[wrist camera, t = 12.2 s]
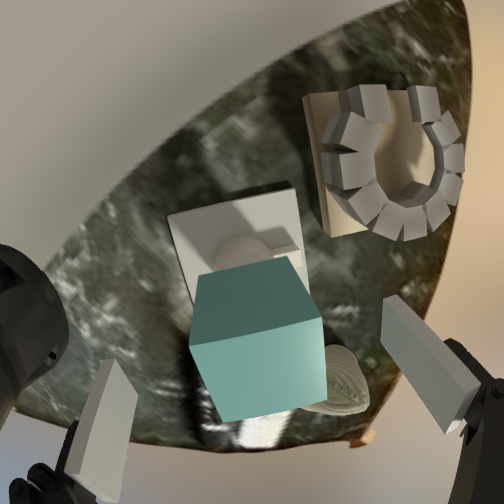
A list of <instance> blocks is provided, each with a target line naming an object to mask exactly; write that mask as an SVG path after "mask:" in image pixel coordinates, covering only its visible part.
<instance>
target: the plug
mask: <svg viewBox="0 0 504 504" xmlns="http://www.w3.org/2000/svg"><path fill="white" fill-rule="evenodd" d="M301 266H302V259H301V252H300V249H299V247H298V246H297V245H296V244H292V245H288V246H283V247H279V248H274V249H270V248H269V247H268V245H267V244H266V243H265V242H264V241H263V240H261V239H260V238H258V237H256V236H253V235H248V234H241V235H236V236H233V237H230V238H228V239H227V240H225V241H224V242H223V243H222V244H221V245H220V246H219V247H218V249H217V251H216V253H215V256H214V265H213V272H211V273H207V274H202V275H198V281H197V288H196V295H195V302H194V309H193V316H192V324H191V332H190V340H189V348H190V351H191V353H192V355H193V358H194V360H195V362H196V365H197V367H198V369H199V372H200V374H201V376H202V378H203V381H204V383H205V385H206V387H207V389H208V391H209V394H210V396H211V398H212V400H213V402H214V404H215V406H216V408H217V410H218V413H219V415H220V417H221V419H222V421H223V423H224V422H231V421H237V420H243V419H248V418H254V417H259V416H264V415H269V414H273V413H278V412H282V411H287V410H291V409H295V408H299V407H303V406H307V405H310V404H314V403H318V402H321V401H325V400H327V380H326V364H325V349H324V336H323V324H322V316H321V314H320V313H319V311H318V309H317V307H316V305H315V304H314V302H313V300H312V298H311V297H310V295H309V293H308V291H307V290H306V288H305V286H304V284H303V283H302V281H301V279H300V277H299V276H298V274H297V272H296V270H295V269H294V268H297V267H301Z"/></svg>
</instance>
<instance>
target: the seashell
mask: <svg viewBox="0 0 504 504" xmlns="http://www.w3.org/2000/svg"><path fill="white" fill-rule="evenodd" d="M324 349H325V364H326V380H327V400H325V401H321V402H318V403H314V404H310V405H307V406H303V407H300V408H302V409H305V410H308V411H316V412H320V413H323V414H329V415H343V416H344V415H349V414H353V413H358V412H362V411H365V410H366V409H367V407H368V406H369V404H370V402H369V398H370V397H369V393H368V390H369V389H368V387H367V386H368V385H366V383H367V381H365V377H364V375H363V374H362V372H361V369H360V368H359V366H358V363H357V360H356V357H355V356H354V354H353V353H352V352H351V351H350V350H349V349H347V348H346V347H344V346H341V345H335V344H334V345H328V346H325V347H324Z"/></svg>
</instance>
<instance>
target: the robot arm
mask: <svg viewBox="0 0 504 504" xmlns="http://www.w3.org/2000/svg"><path fill="white" fill-rule="evenodd" d="M68 339H69V329H68V322H67V318H66V314H65V311H64V308H63V306H62V303H61V301H60V299H59V297H58V295H57V293H56V291H55V289H54V288H53V286H52V285H51V283H50V282H49V280H48V279H47V277H46V276H45V275H44V273H43V272H42V271H41V270H40V269H39V268H38V267H37V265H36V264H35V263H34V262H32V261H31V260H30V259H29V258H28V257H27V256H25V255H24V254H23V253H21V252H20V251H18V250H16V249H14V248H12V247H10V246H7V245H2V244H0V431H1V429H2V427H3V425H4V423H5V421H6V419H7V417H8V415H9V413H10V411H11V409H12V407H13V405H14V403H15V401H16V400H17V398H18V396H19V395H20V393H21V391H22V390H23V389H25V388H26V387H27V386H29V385H30V384H32V383H33V382H34V381H36V380H37V379H39V378H40V377H41V376H43V375H44V374H46V373H47V372H49V371H50V370H51V369H53V368H54V367H55V366H56V364H57V363H58V362H59V360H60V358H61V357H62V355H63V353H64V352H65V350H66V347H67V344H68ZM381 343H382V345H383V346H384V347H385V349H386V350H387V352H388V353H389V354H390V356H391V357H392V358H393V360H394V361H395V363H396V364H397V365H398V367H399V368H400V370H401V371H402V372H403V374H404V375H405V377H406V378H407V379H408V381H409V382H410V384H411V385H412V386H413V388H414V389H415V391H416V392H417V394H418V395H419V397H420V398H421V400H422V401H423V402H424V404H425V405H426V407H427V408H428V410H429V411H430V413H431V414H432V416H433V417H434V419H435V420H436V422H437V423H438V425H439V426H440V428H441V429H442V431H443V432H444V434H447V433H448V432H450V431H452V430H453V429H455V428H457V427H458V426H459V425H460V424H461V422H462V420H463V418H464V419H465V420H466V422H467V424H466V426H465V427H464V429H463V430H462V432H461V434H460V437H462V436H463V434H464V439H463V445H462V450H461V455H460V460H459V465H458V469H457V473H456V477H455V481H454V485H453V488H452V492H451V495H450V499H449V502H448V504H504V379H501V378H498V379H494V378H493V377H492V376H491V375H490V374H489V373H488V372H487V371H486V370H485V369H484V367H483V366H482V365H481V364H480V363H479V362H478V361H477V360H476V359H475V358H474V357H472V355H471V354H470V353H469V352H467V350H466V348H464V346H463V345H462V344H461V343H459V342H457V341H455V340H453V339H451V338H449V339H447V340H445V341H442V340H441V339H440V338H439V337H438V336H437V335H436V334H435V333H434V332H433V331H432V330H431V328H429V327H428V326H427V324H426V323H425V322H424V321H423V320H422V319H421V318H420V317H419V316H418V315H417V314H416V313H415V312H414V311H413V310H412V309H411V308H410V307H409V306H408V305H407V304H406V303H405V302H404V301H403V300H401V299H400V298H399V297H398V296H397V295H394V296H391V297H388V298H385V299H383V314H382V329H381ZM137 398H138V394H137V393H136V391H135V390H134V388H133V387H132V385H131V384H130V382H129V380H128V379H127V377H126V376H125V374H124V372H123V371H122V369H121V367H120V366H119V364H118V362H117V361H116V359H115V358H114V359H106V360H102V363H101V365H100V367H99V370H98V372H97V375H96V377H95V380H94V383H93V385H92V388H91V390H90V393H89V396H88V398H87V401H86V404H85V407H84V409H83V412H82V415H81V418H80V421H74V422H73V423H72V424H71V426H70V427H69V428H68V431H67V434H66V437H65V438H66V439H65V440H64V443H63V447H62V449H61V452H60V455H59V458H58V461H57V465H56V468H55V471H53V470H52V469H51V468H50V467H48V466H47V465H46V464H44V463H37V464H34V465H33V466H32V467H31V468H30V469H29V471H28V475H27V479H28V482H29V483H30V484H29V483H28V482H27V481H25V480H24V479H22V478H16V479H14V480H13V481H12V482H11V484H10V486H9V498H10V504H97V502H96V501H95V500H96V496H97V497H98V498H100V499H101V500H103V501H105V502H112V503H119V499H120V492H121V484H122V478H123V471H124V466H125V460H126V454H127V447H128V443H129V437H130V432H131V427H132V422H133V417H134V412H135V407H136V403H137Z"/></svg>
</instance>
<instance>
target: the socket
mask: <svg viewBox="0 0 504 504" xmlns="http://www.w3.org/2000/svg"><path fill="white" fill-rule="evenodd" d="M302 101H303V106H304V111H305V116H306V122H307V127H308V132H309V138H310V143H311V149H312V155H313V161H314V167H315V174H316V180H317V187H318V194H319V201H320V209H321V216H322V224H323V230H324V231H325V232H326V233H327V234H328V235H329V236H330V237H331V238H332V237H336V236H341V235H345V234H350V233H354V232H359V231H363V230H368V229H369V230H371V231H373V232H375V233H378V234H380V235H383V236H385V237H387V238H390V239H392V240H395V241H396V240H397V238H399V239H401V240H402V241H408V240H411V239H415V238H419V237H423V236H427V228H428V229H430V230H432V231H434V230H435V229H436V228H437V227H438V226H439V225H440V224H441V223H442V222H443V221H444V220H445V219H446V218H447V217H448V216H449V215H450V214H451V213H450V211H449V208H448V206H447V204H446V203H448V204H451V205H453V206H455V205H456V202H457V199H458V196H459V193H460V190H461V187H462V184H463V180H462V179H461V178H459V177H458V176H457V175H455V174H454V173H459V172H465V164H464V149H463V144H460V143H453V142H454V141H455V140H456V139H457V138H458V137H459V136H460V135H461V134H460V132H459V130H458V128H457V126H456V124H455V122H454V120H453V118H452V116H451V114H450V112H449V110H440V106H439V100H438V95H437V89H436V87H428V86H412V87H407V90H387V89H386V85H357V86H354V87H352V88H349V89H346V90H344V91H338V92H324V93H312V94H308V95H306V96H304V97H302Z"/></svg>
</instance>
